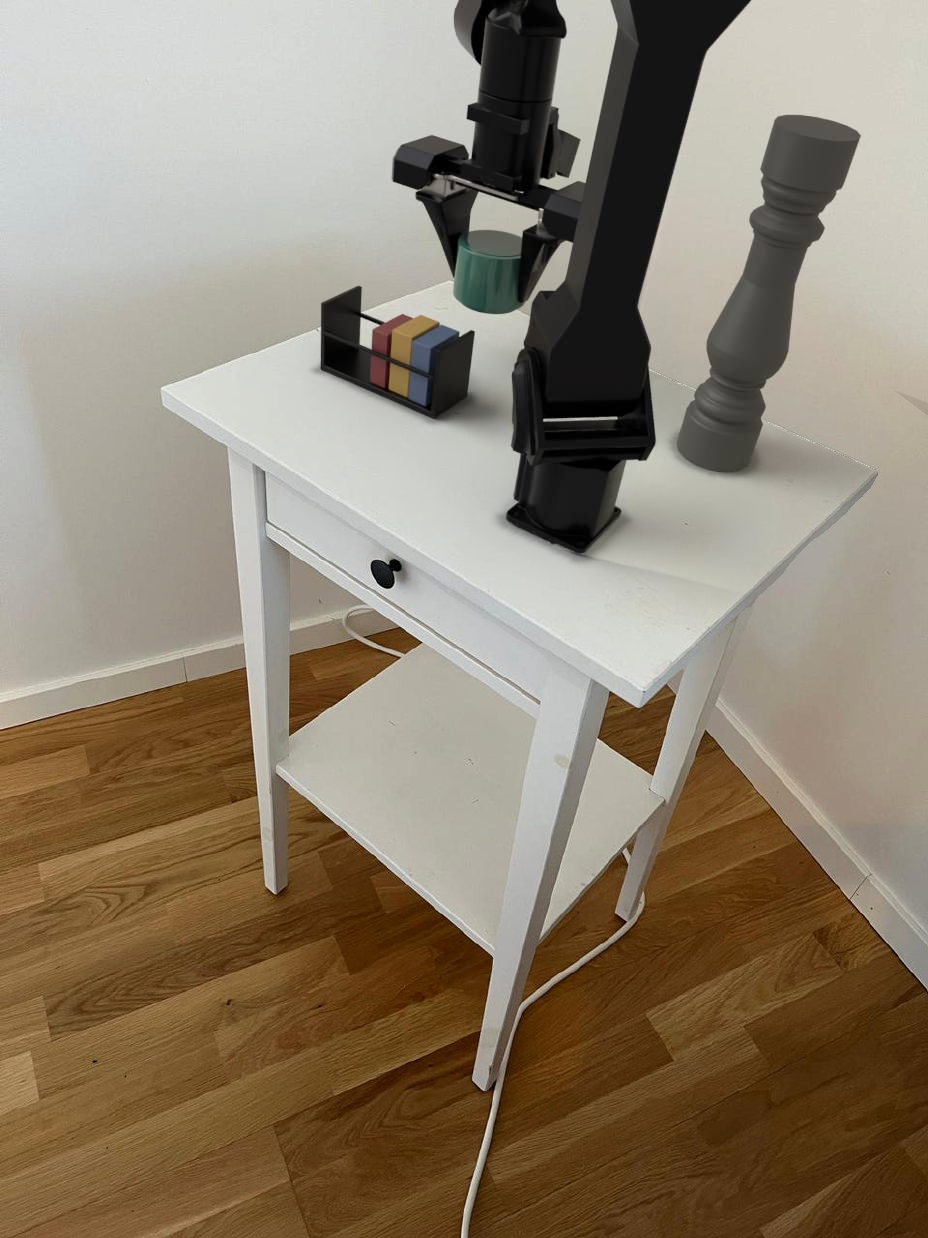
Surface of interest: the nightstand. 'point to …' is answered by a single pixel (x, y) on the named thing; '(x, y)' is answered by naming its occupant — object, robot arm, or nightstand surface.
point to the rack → (355, 360)
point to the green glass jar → (488, 271)
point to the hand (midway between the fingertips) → (490, 289)
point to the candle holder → (765, 290)
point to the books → (408, 354)
